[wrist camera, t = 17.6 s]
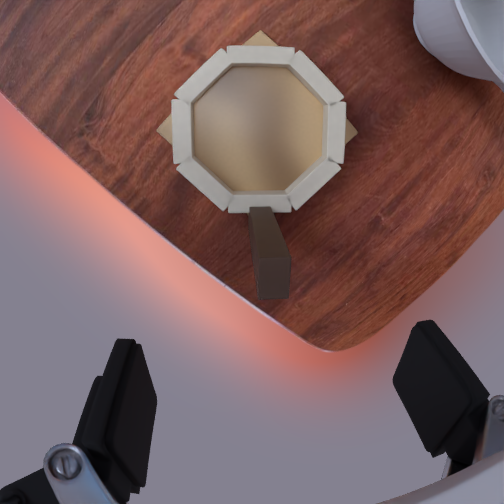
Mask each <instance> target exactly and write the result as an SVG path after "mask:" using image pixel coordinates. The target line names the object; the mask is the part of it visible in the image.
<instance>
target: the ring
mask: <svg viewBox="0 0 504 504" xmlns="http://www.w3.org/2000/svg"><path fill="white" fill-rule="evenodd" d="M232 66H259V67H285V68H288V69H289V70H290V71H291V72H292V73H293V74H294V75H295V76H296V77H297V78H298V79H299V80H300V81H301V82H302V83H303V85H304V86H305V87H306V88H307V89H308V90H309V91H310V92H311V93H312V94H313V95H314V96H315V97H316V98H317V99H318V100H319V101H320V103H321V104H322V105H323V133H322V156H321V157H320V158H319V159H317V160H316V161H315V162H314V163H313V164H312V165H311V166H310V167H309V168H308V169H307V170H306V171H305V172H304V173H302V174H301V175H300V176H299V177H298V178H297V179H296V180H295V181H294V182H293V183H292V184H291V185H290V186H289V187H288V188H287V189H285V190H263V191H233V190H231V189H230V188H229V187H228V186H227V185H226V184H225V183H224V182H223V181H222V180H221V179H220V178H218V177H217V176H216V175H215V174H214V173H213V172H212V171H211V170H210V169H209V168H208V167H206V166H205V165H204V164H203V163H202V162H201V161H200V160H199V159H198V158H197V157H195V152H194V109H193V104H194V103H195V102H196V101H197V100H198V99H199V98H200V97H201V96H202V95H203V94H204V93H205V92H206V91H207V90H208V89H209V88H210V87H211V86H212V85H213V84H214V83H215V82H216V81H217V80H218V79H219V78H220V77H221V76H222V75H223V74H224V73H225V72H227V71H228V70H229V69H230V68H231V67H232ZM174 95H175V96H176V97H177V98H178V99H173V100H172V101H171V103H172V140H173V163H174V164H180V165H179V166H178V167H177V168H176V170H178V171H179V172H180V173H181V174H182V175H183V176H184V177H185V178H186V179H188V180H189V181H190V182H191V183H192V184H193V185H194V186H195V187H196V188H198V189H199V190H200V191H201V192H202V193H203V194H204V195H205V196H207V197H208V198H209V199H210V200H211V201H212V202H213V203H214V204H215V205H216V206H218V207H219V208H220V209H221V210H222V211H224V210H225V209H226V208H227V207H228V213H248V230H249V237H250V245H251V252H252V259H253V266H254V274H255V281H256V288H257V295H258V299H259V300H261V299H287V298H289V286H290V272H291V255H290V253H289V250H288V248H287V245H286V243H285V240H284V238H283V235H282V233H281V230H280V228H279V225H278V223H277V221H276V218H275V216H274V213H273V212H291V207H293V208H294V209H295V210H297V209H299V208H300V207H301V206H302V205H303V204H304V203H305V202H306V201H307V200H308V199H309V198H310V197H311V196H313V195H314V194H315V193H316V192H317V191H318V190H319V189H320V188H321V187H322V186H323V185H324V184H325V183H327V182H328V181H329V180H330V179H331V178H332V177H333V176H334V175H335V174H336V173H337V172H338V171H339V170H340V169H341V167H340V166H339V165H338V164H337V163H340V164H343V163H344V148H345V127H346V102H341V100H342V99H343V98H344V96H343V95H342V94H341V92H340V91H339V90H338V89H337V88H336V87H335V86H334V85H333V83H332V82H331V81H330V80H329V79H328V78H327V77H326V76H325V75H324V74H323V73H322V72H321V71H320V70H319V68H318V67H317V66H316V65H315V64H314V63H313V62H312V61H311V60H310V59H309V58H308V57H307V56H306V55H305V54H304V53H303V52H302V51H301V50H299V51H298V52H297V53H296V54H295V48H293V47H278V46H227V52H226V51H225V50H223V49H222V48H221V49H220V50H218V51H217V52H216V53H215V54H214V55H213V56H212V57H211V58H210V59H209V60H208V61H207V62H205V63H204V64H203V65H202V66H201V67H200V68H199V69H198V70H197V71H196V72H195V73H194V74H193V75H192V76H191V77H190V78H189V79H188V80H187V81H186V82H185V83H184V84H183V85H182V86H181V87H180V88H179V89H178V90H177V91H176V92H175V93H174Z"/></svg>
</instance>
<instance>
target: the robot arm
mask: <svg viewBox="0 0 504 504" xmlns="http://www.w3.org/2000/svg"><path fill="white" fill-rule="evenodd" d="M393 385H394V387H395V389H396V391H397V393H398V395H399V397H400V399H401V401H402V403H403V404H404V406H405V408H406V410H407V412H408V414H409V416H410V418H411V420H412V422H413V424H414V426H415V428H416V430H417V432H418V434H419V437H420V439H421V441H422V442H423V445H424V447H425V449H426V451H428V452H430V453H431V455H432V457H433V458H434V457H436V456H438V455H441V454H443V453H444V452H445V451H446V453H447V455H448V457H447V461H446V464H445V468H444V471H443V475H442V478H441V480H440V481H437V482H435V483H433V484H430V485H428V486H425V487H423V488H420V489H418V490H416V491H413V492H410V493H407V494H405V495H402V496H399V497H396V498H393V499H390V500H387V501H384V502H381V503H378V504H504V396H503V395H497V396H494V397H493V398H491V400H490V401H489V400H488V399H487V398H488V397H489V395H490V394H489V392H488V391H487V390H486V388H485V387H484V386H483V384H482V383H481V381H480V380H479V378H478V377H477V376H476V374H475V373H474V372H473V370H472V369H471V368H470V366H469V365H468V364H467V362H466V361H465V360H464V358H463V357H462V356H461V354H460V353H459V352H458V351H457V349H456V348H455V347H454V346H453V344H452V343H451V342H450V341H449V339H448V338H447V337H446V335H445V334H444V333H443V332H442V331H441V329H440V328H439V327H438V326H437V324H436V323H435V322H434V321H433V320H426V321H420V322H417V324H416V325H415V326H414V327H413V328H412V330H411V334H410V336H409V339H408V341H407V344H406V347H405V349H404V352H403V354H402V357H401V359H400V362H399V364H398V367H397V369H396V371H395V374H394V376H393ZM156 407H157V396H156V393H155V390H154V387H153V384H152V380H151V377H150V374H149V370H148V367H147V364H146V360H145V357H144V354H143V350H142V346H141V344H136V341H135V340H134V339H117V340H116V342H115V344H114V347H113V349H112V352H111V354H110V357H109V360H108V362H107V365H106V368H105V370H104V373H103V376H97V377H96V378H95V380H94V382H93V384H92V387H91V390H90V393H89V395H88V398H87V401H86V404H85V407H84V409H83V413H82V415H81V418H80V421H79V424H78V427H77V430H76V434H75V437H74V440H73V443H72V444H69V443H63V444H58V445H56V446H54V447H52V448H51V449H50V450H49V451H48V452H47V453H46V455H45V458H44V462H43V467H44V468H42V469H40V470H38V471H36V472H34V473H32V474H30V475H28V476H26V477H24V478H22V479H20V480H17V481H15V482H13V483H11V484H9V485H7V486H5V487H3V488H2V489H1V490H0V504H128V503H127V502H128V501H129V498H130V493H136V494H139V491H140V487H145V484H146V477H147V469H148V461H149V453H150V446H151V439H152V432H153V426H154V420H155V414H156Z"/></svg>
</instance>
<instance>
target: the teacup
mask: <svg viewBox="0 0 504 504" xmlns="http://www.w3.org/2000/svg"><path fill="white" fill-rule="evenodd" d="M413 25H414V29H415V33H416V35H417V37H418V39H419V41H420V42H421V44H422V45H423V46H424V48H425V49H426V50H427V51H428V52H429V53H431V54H432V55H433V56H435V57H436V58H437V59H438V60H439V61H441V62H442V63H443V64H444V65H446V66H447V67H449V68H450V69H452V70H454V71H455V72H458V73H460V74H463V75H465V76H470V77H474V78H478V79H483V80H489V81H493V82H494V83H495V84H496V85H497V86H499V88H500V89H501V90H502V91H503V92H504V0H415V1H414V17H413Z"/></svg>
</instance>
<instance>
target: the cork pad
mask: <svg viewBox="0 0 504 504" xmlns="http://www.w3.org/2000/svg"><path fill="white" fill-rule="evenodd" d="M242 46H278V45H277V44H276V43H274V42H273V41H272V40H271V39H270V38H269V37H268V36H267V35H266V34H265V33H263V32H262V31H261V30H260V31H259V32H257V33H256V34H255V35H254V36H253V37H251V38H250V39H249V40H248V41H247V42H245V43H244V44H243V45H242ZM278 47H279V46H278ZM193 109H194V152H195V157H197V158H198V159H199V160H200V161H201V162H202V163H203V164H204V165H205V166H206V167H208V168H209V169H210V170H211V171H212V172H213V173H214V174H215V175H216V176H217V177H218V178H220V179H221V180H222V181H223V182H224V183H225V184H226V185H227V186H228V187H229V188H230V189H231V190H233V191H263V190H285V189H287V188H288V187H289V186H290V185H291V184H292V183H293V182H294V181H295V180H296V179H297V178H298V177H299V176H300V175H301V174H302V173H304V172H305V171H306V170H307V169H308V168H309V167H310V166H311V165H312V164H313V163H314V162H315V161H316V160H317V159H319V158H320V157H321V156H322V133H323V105H322V104H321V103H320V101H319V100H318V99H317V98H316V97H315V96H314V95H313V94H312V93H311V92H310V91H309V90H308V89H307V88H306V87H305V86H304V85H303V83H302V82H301V81H300V80H299V79H298V78H297V77H296V76H295V75H294V74H293V73H292V72H291V71H290V70H289V69H288V68H285V67H259V66H232V67H231V68H230V69H229V70H228V71H227V72H225V73H224V74H223V75H222V76H221V77H220V78H219V79H218V80H217V81H216V82H215V83H214V84H213V85H212V86H211V87H210V88H209V89H208V90H207V91H206V92H205V93H204V94H203V95H202V96H201V97H200V98H199V99H198V100H197V101H196V102H195V103H194V104H193ZM156 131H157V132H158V133H159V134H160V135H161V136H162V137H164V138H165V139H166V140H167V141H168V142H169V143H170V144H171V145H172V146H173V140H172V113H171V114H170V115H169V116H168V117H167V119H166V120H165V121H164V122H163V123H162V124H161V125H160V126H159V127H158V129H157V130H156ZM357 133H358V131H357V130H356V129H355V128H354V127H353V125H352V124H351V123H350V122H349V121H348V119H347V118H346V127H345V144H346V143H347V142H349V141H350V140H351V139H352V138H353V137H354V136H355V135H356V134H357ZM246 214H247V215H248V213H246Z"/></svg>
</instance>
